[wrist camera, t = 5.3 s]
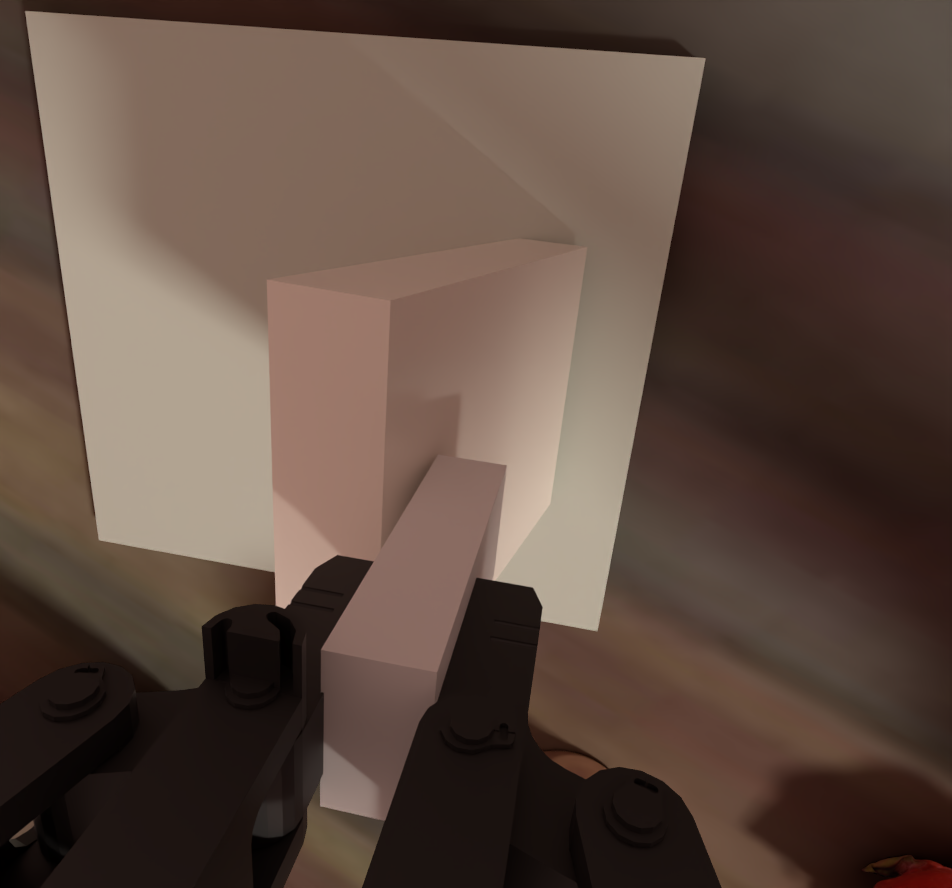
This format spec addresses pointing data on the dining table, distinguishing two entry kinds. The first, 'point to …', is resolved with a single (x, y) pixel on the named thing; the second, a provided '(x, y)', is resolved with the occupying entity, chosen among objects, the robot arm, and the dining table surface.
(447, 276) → the pale pink rectangular block
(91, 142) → the mat
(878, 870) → the dragon fruit
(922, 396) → the dining table surface
